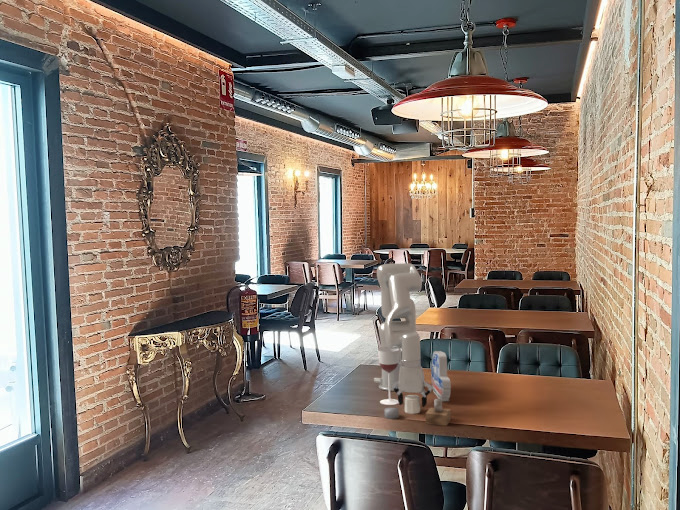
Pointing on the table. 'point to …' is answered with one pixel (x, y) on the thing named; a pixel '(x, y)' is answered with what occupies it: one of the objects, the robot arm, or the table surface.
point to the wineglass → (388, 368)
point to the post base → (438, 414)
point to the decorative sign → (440, 376)
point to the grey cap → (391, 413)
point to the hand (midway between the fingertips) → (412, 405)
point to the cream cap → (412, 404)
